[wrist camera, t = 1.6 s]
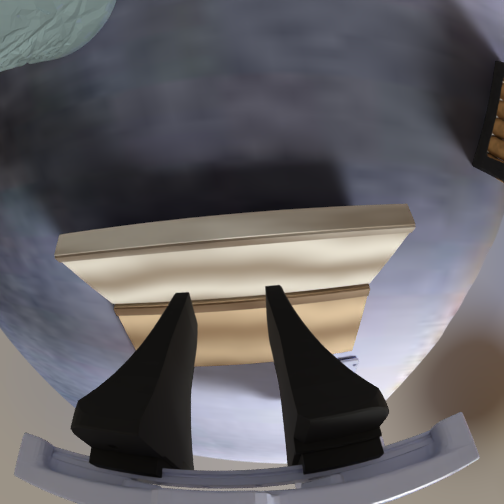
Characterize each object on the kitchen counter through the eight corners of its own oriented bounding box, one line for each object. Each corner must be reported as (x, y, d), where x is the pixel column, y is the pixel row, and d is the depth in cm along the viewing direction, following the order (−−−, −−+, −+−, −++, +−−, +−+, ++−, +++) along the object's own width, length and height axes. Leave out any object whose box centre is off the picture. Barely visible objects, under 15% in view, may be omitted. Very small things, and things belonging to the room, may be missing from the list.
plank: (365, 267, 24) (370, 284, 23) (114, 287, 24) (113, 305, 23) (407, 203, 16) (416, 226, 15) (59, 234, 16) (53, 257, 15)
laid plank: (348, 340, 30) (352, 352, 28) (147, 355, 29) (145, 368, 28) (363, 275, 25) (370, 287, 23) (118, 295, 24) (113, 308, 23)
